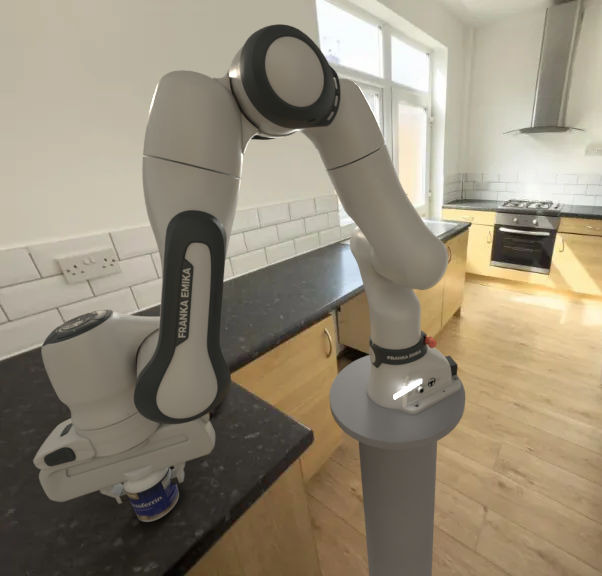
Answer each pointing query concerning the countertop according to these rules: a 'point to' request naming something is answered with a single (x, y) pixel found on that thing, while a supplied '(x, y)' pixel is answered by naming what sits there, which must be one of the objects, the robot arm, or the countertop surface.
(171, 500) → the pill bottle
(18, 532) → the countertop surface
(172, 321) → the robot arm
